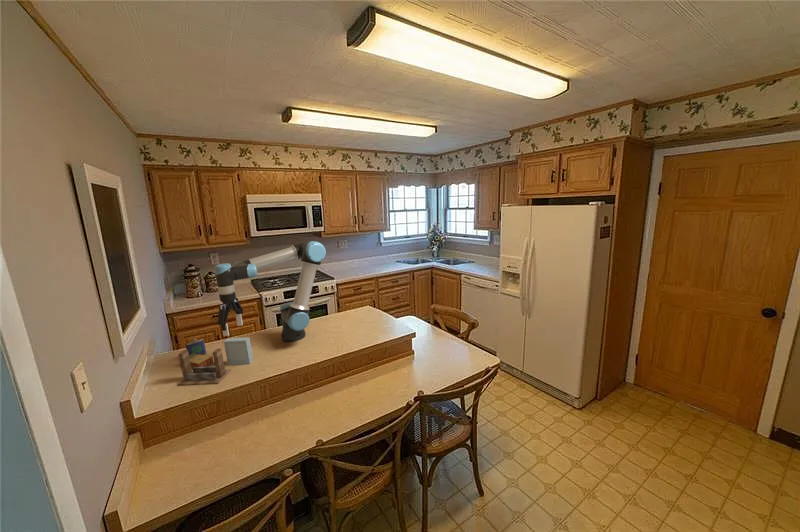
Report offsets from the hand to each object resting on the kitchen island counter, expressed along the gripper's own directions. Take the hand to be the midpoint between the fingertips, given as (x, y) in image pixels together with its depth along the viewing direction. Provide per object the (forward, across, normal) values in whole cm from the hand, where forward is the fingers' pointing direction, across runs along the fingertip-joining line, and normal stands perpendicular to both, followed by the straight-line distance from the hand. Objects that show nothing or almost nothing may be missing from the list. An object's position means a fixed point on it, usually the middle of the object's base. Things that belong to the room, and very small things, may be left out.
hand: (233, 330), depth 167 cm
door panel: (+19, +1, +1) cm, 19 cm away
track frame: (+19, +15, -9) cm, 26 cm away
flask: (+19, -9, -30) cm, 37 cm away
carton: (+20, 0, -24) cm, 31 cm away
